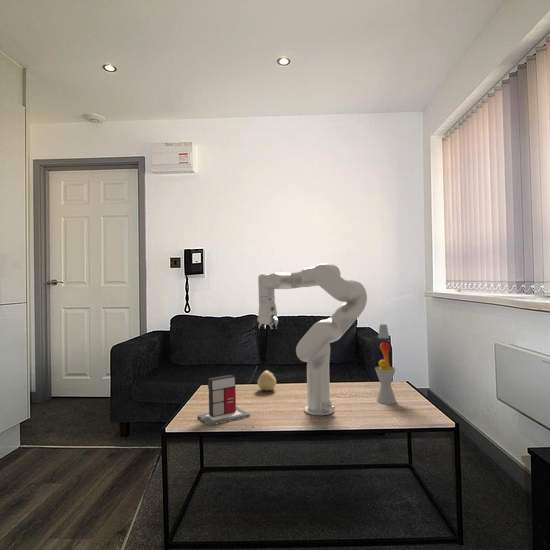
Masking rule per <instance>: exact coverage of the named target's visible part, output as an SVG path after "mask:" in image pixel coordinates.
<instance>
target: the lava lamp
mask: <svg viewBox="0 0 550 550" xmlns="http://www.w3.org/2000/svg"><path fill="white" fill-rule="evenodd" d="M378 328H379V329H378V337H377V338H378V339H389V338H390V335H389V330H388V325H387V324H385V323H380V324H379V327H378ZM390 348H391V347H390V344H389V343H388V342H386V341H382V342H381V343H380V345H379V349H380V351H381V353H382V355H383V359H380V360H379V361H378V366H375V367H374V369H375V372H376V376H377V378H378V380H379V383H380V386H379V390H378V392H377V393H378V395H377V398H376V403H378V404H382V403H384V404H383V405H394V404H396V403H397V399H396V397H395V393H394V391H393V388H392V381H393V379H394V375H395V372H396V368H395V367H393V366H390V365H391V364H390V362H389V353H390ZM393 403H394V404H393Z"/></svg>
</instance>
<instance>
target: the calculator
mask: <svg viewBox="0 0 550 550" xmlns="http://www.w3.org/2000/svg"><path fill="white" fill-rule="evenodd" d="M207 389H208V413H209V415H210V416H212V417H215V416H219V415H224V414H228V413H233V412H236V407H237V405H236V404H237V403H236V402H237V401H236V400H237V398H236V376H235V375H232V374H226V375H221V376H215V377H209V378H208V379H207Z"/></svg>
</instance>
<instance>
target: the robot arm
mask: <svg viewBox="0 0 550 550" xmlns="http://www.w3.org/2000/svg"><path fill="white" fill-rule="evenodd" d="M341 274H342V273H341V271H340V268H339V267H338V266H336V265H335V264H331V263H318V264H317V265H315V266H310V267H304V268H302V270H301V271H296V272H287V273H286V272H273V273H262V274H259V275H258V278H257V279H258V280H257V281H258V283H257V284H258V286H257V287H258V317H257V318H256V321H257V325H258V333H259V335H258V336H259V337H264V336H265V337H266V326H267V325H269V327H270V328H269V338H270V339H273V338H277V329H278V325H279V324H278V323H279V319H278V312H277V306H276V297H275V290H292V289H299V288H310V287H312V288H313V287H318V286H319V287H320V288H321V289H322V290H324V292H325V293H327V294H328V295H330V296H331V297H332V298H333V299H334V300H336V301H338V302H343V303H342V304H341V305H340V306H338V308H337V309H336V310H335V311H334V313H332V314H331V316H330V317H328V318H326V319H321V320H319V321H317V322H315V323H314V324H313V325H312V326H311V327H310V328H309V329H308V330H307V332H306V333H305V334H304V335H303V336H302V338H301V339H300V340H299V341H298V343H297V345H296V348H295V352H296V356H297V358H298V359H299V360H300V361H301V362H305V363H306V384H307V385H306V389H307V392H306V393H307V394H306V395H307V405H306V406H304V409H303V410H304V412H305V413H306V414H308V415H311V416H327V415H328V416H329V415H331V414H333V413H334V412H335V410H336V407H335V405H333V404H332V402H333V401H332V400H331V389H330V388H331V387H330V386H331V385H330V359H331V343H334V342H337V341H338V340H340V339H341V338H342V336H344V334H345V333H346V331H348V329H350V327H351V326H353V324H354V323H355V321H357V319H358V318H359V317H360V316H361V314H362V313H363V312H364V310H365V308H366V305H367V302H368V295H367V290H366V288H365V287H364V285H363V284H362V283H360V281H356V280H352V279H351V280H349V279H344V278H343V277H342V275H341Z"/></svg>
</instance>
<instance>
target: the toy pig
mask: <svg viewBox="0 0 550 550" xmlns="http://www.w3.org/2000/svg"><path fill="white" fill-rule="evenodd" d="M256 382H257V383H256V384H257V386H258V387H259V390H260V391H274V389H275V387H276V385H277V379H276V375H275V373H273V372H271V371H270V370H268V369H267V370H264V371H263V372H262V373H261V374H260V376H258V379H257V381H256Z"/></svg>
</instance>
